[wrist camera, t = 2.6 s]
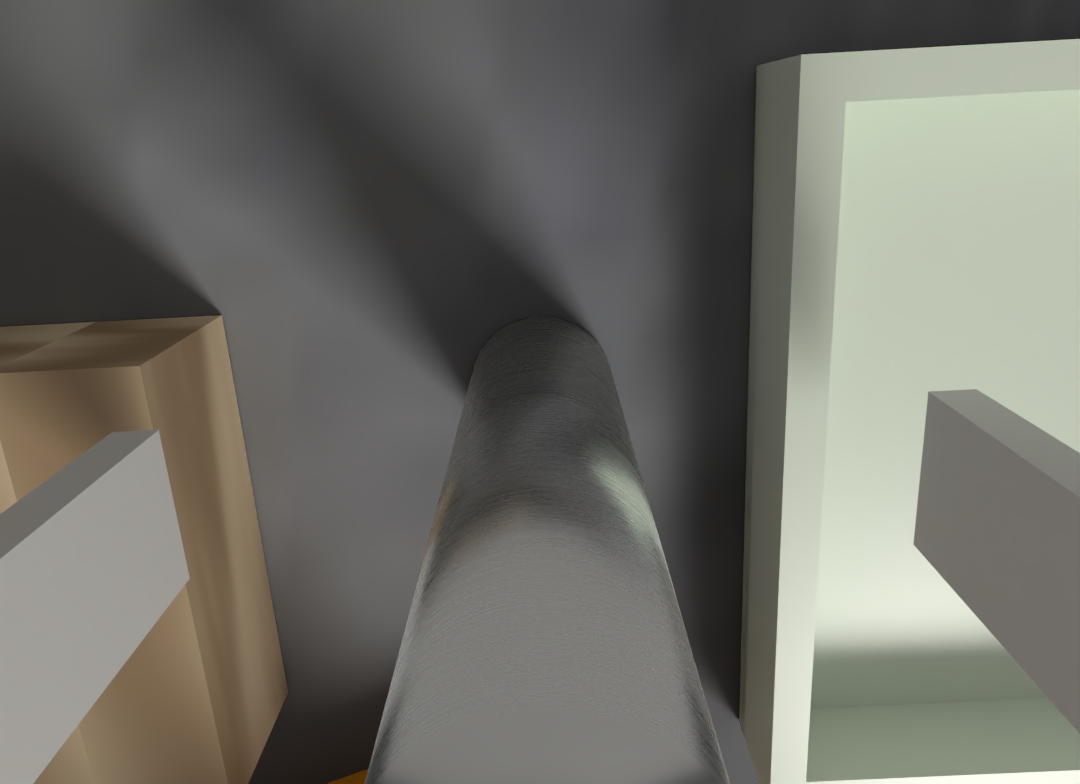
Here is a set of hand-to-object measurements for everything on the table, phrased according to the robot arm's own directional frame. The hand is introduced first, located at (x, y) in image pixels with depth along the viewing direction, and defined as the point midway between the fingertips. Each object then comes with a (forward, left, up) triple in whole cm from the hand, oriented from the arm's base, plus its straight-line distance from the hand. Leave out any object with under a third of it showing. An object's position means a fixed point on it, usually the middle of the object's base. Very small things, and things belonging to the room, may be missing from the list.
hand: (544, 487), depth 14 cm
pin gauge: (0, 0, -6) cm, 6 cm away
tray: (+11, -2, -6) cm, 13 cm away
